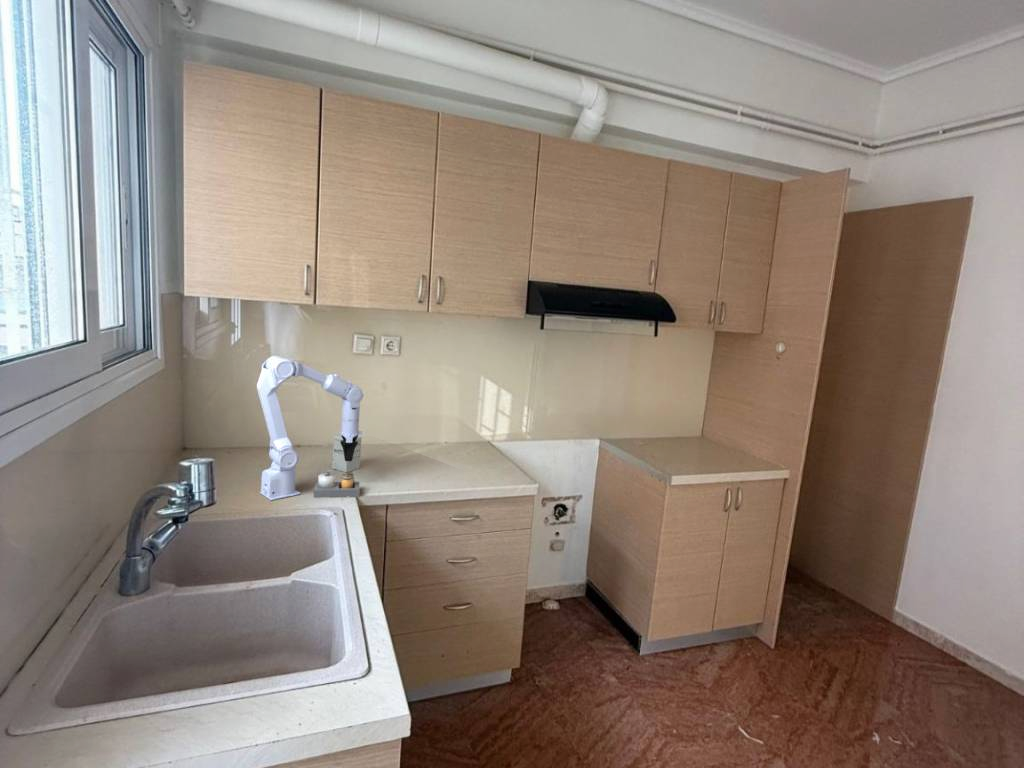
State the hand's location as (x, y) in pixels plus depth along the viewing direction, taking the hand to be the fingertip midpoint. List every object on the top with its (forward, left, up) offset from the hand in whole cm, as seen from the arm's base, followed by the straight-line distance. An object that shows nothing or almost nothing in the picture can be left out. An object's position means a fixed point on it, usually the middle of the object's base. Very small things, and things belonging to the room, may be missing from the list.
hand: (348, 457), depth 179 cm
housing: (-7, -6, -9) cm, 13 cm away
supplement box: (+9, +15, -10) cm, 20 cm away
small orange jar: (-5, -7, -9) cm, 13 cm away
